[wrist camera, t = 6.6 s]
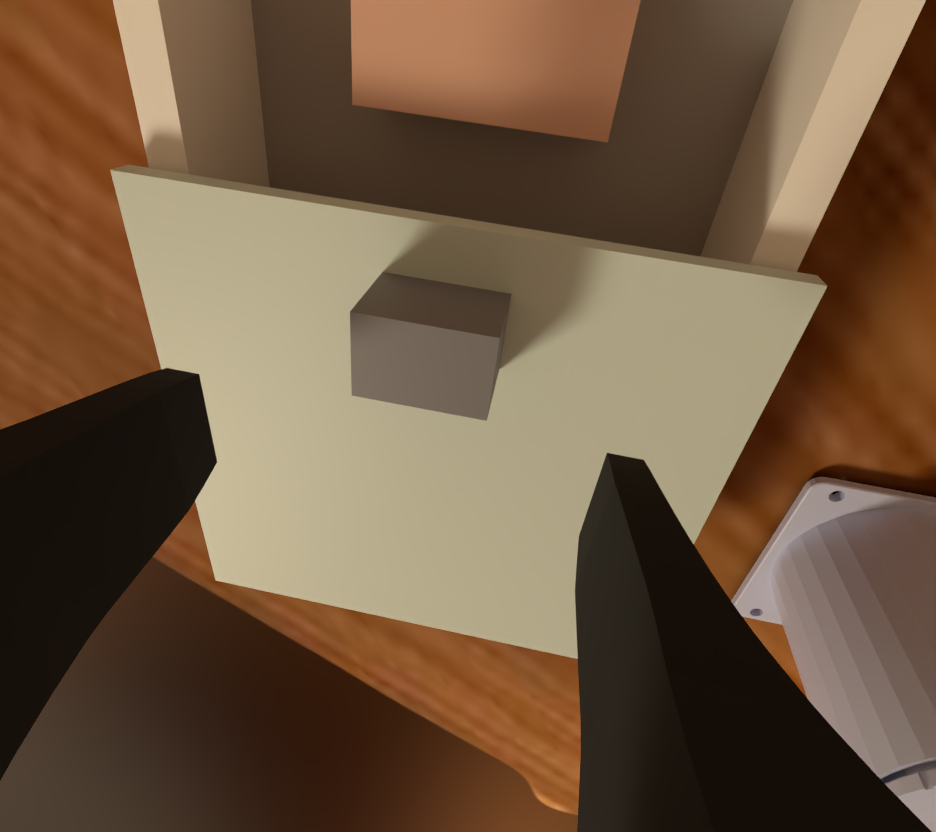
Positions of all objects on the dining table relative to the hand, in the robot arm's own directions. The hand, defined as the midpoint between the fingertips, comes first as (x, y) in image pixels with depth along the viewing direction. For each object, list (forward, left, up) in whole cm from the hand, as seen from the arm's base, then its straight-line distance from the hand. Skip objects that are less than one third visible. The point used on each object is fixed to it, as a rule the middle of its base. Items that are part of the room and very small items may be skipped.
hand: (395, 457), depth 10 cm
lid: (0, +4, -5) cm, 7 cm away
